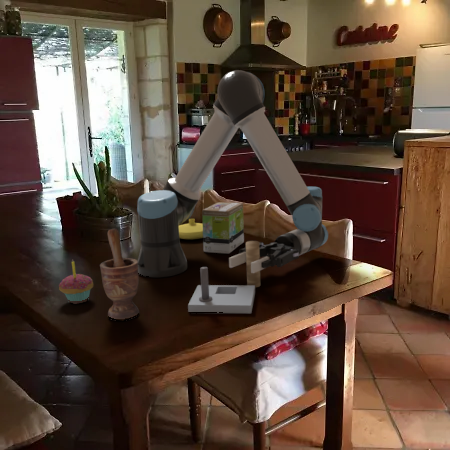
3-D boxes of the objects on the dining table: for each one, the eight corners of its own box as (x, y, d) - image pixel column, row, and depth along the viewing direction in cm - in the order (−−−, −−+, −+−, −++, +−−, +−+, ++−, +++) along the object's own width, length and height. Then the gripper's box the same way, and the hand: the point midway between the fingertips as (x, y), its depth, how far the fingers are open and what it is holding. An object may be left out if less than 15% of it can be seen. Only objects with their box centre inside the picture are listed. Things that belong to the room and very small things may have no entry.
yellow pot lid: (221, 236, 182) (221, 218, 181) (188, 245, 172) (186, 226, 171) (196, 230, 194) (195, 213, 192) (164, 237, 184) (162, 220, 183)
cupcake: (95, 304, 122) (90, 259, 119) (60, 309, 120) (54, 264, 117) (94, 293, 130) (89, 250, 127) (61, 297, 128) (55, 254, 125)
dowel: (246, 287, 129) (245, 244, 126) (247, 282, 132) (246, 240, 130) (260, 287, 129) (258, 244, 126) (260, 282, 132) (259, 240, 129)
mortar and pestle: (94, 311, 118) (85, 232, 113) (125, 301, 123) (118, 225, 119) (115, 325, 109) (107, 241, 105) (148, 314, 115) (141, 233, 110)
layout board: (188, 312, 115) (185, 272, 112) (198, 292, 127) (196, 256, 125) (251, 313, 113) (249, 272, 110) (255, 292, 125) (253, 255, 123)
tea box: (230, 254, 159) (228, 210, 156) (202, 252, 163) (200, 209, 159) (244, 242, 173) (243, 201, 169) (218, 240, 176) (216, 201, 173)
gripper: (320, 263, 136) (271, 286, 120) (265, 251, 149) (214, 271, 133) (320, 237, 134) (271, 258, 118) (264, 228, 147) (212, 245, 131)
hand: (240, 265), depth 125 cm, fingers open, 7 cm apart
